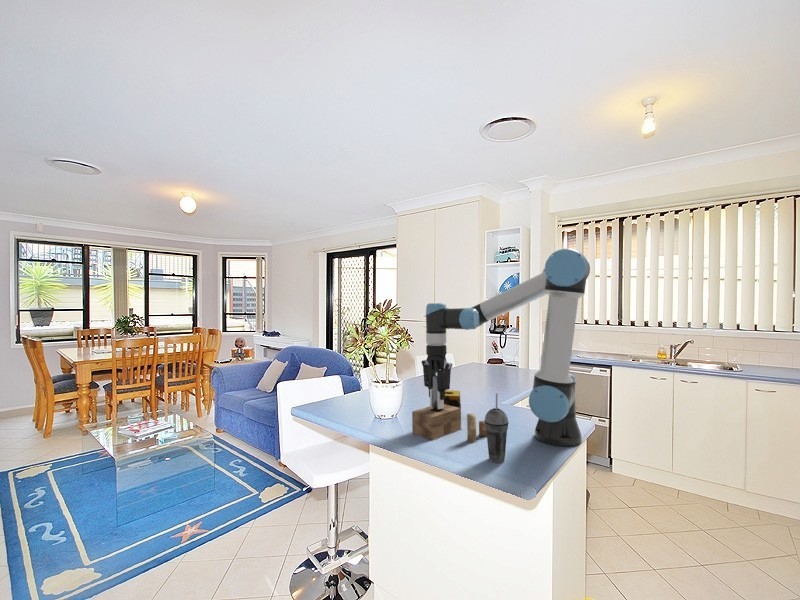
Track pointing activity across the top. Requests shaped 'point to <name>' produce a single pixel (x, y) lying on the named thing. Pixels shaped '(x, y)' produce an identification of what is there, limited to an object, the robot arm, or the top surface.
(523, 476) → the top surface
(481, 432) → the short pin
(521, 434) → the top surface
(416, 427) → the hole block
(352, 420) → the top surface
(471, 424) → the medium pin
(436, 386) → the long pin
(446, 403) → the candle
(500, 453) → the beverage cup
